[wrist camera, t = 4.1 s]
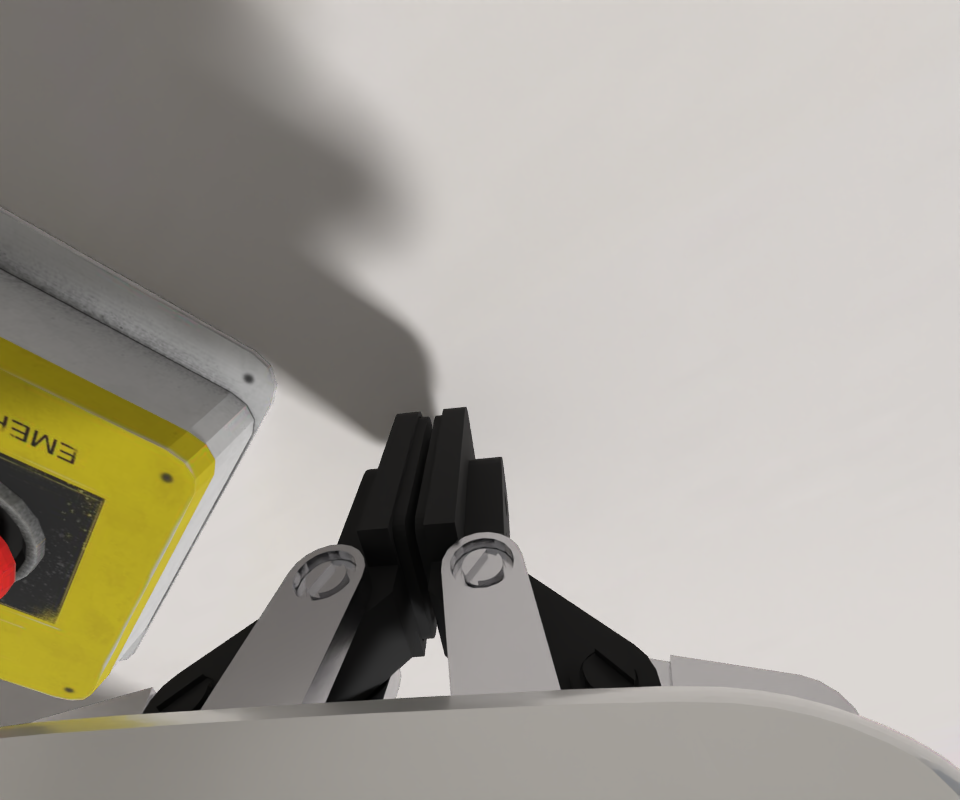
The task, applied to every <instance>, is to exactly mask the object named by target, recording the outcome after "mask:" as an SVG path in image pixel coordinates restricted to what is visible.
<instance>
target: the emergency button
mask: <svg viewBox="0 0 960 800" xmlns="http://www.w3.org/2000/svg"><path fill="white" fill-rule="evenodd" d="M276 388H277V382H276V379H275V376H274V373H273V370H272V367H271V365H270V364H269V363H268V362H267V361H266V360H264V359H263V358H262V357H261V356H260V355H259V354H258V353H257V352H256V351H254V350H253V349H251V348H249V347H247V346H245V345H244V344H242V343H240V342H238V341H237V340H235V339H233V338H231V337H230V336H228V335H226V334H224V333H223V332H221V331H219V330H217V329H215V328H214V327H212V326H210V325H208V324H207V323H205V322H203V321H201V320H200V319H198V318H196V317H194V316H192V315H191V314H189V313H187V312H185V311H184V310H182V309H180V308H178V307H177V306H175V305H173V304H171V303H169V302H168V301H166V300H164V299H162V298H161V297H159V296H157V295H155V294H154V293H152V292H150V291H148V290H147V289H145V288H143V287H141V286H139V285H138V284H136V283H134V282H132V281H131V280H129V279H127V278H125V277H124V276H122V275H120V274H118V273H116V272H115V271H113V270H111V269H109V268H108V267H106V266H104V265H102V264H101V263H99V262H97V261H95V260H93V259H92V258H90V257H88V256H86V255H85V254H83V253H81V252H79V251H78V250H76V249H74V248H72V247H71V246H69V245H67V244H65V243H63V242H62V241H60V240H58V239H56V238H55V237H53V236H51V235H49V234H48V233H46V232H44V231H42V230H40V229H39V228H37V227H35V226H33V225H32V224H30V223H28V222H26V221H25V220H23V219H21V218H19V217H17V216H16V215H14V214H12V213H10V212H9V211H7V210H5V209H3V208H2V207H0V679H1V680H4V681H7V682H10V683H13V684H16V685H19V686H22V687H25V688H28V689H31V690H34V691H37V692H40V693H43V694H46V695H49V696H52V697H56V698H60V699H65V700H70V701H72V700H84V699H86V698H87V697H88V696H90V695H91V694H92V693H93V692H94V691H95V690H96V689H97V688H98V686H99V685H100V684H101V683H102V682H103V681H104V680H105V679H106V677H107V676H108V675H109V674H110V672H111V670H112V668H113V667H114V666H115V665H116V664H117V662H118V661H121V660H127V659H128V658H129V657H130V656H132V655H133V654H134V653H135V652H136V650H137V649H138V647H139V645H140V643H141V642H142V640H143V638H144V636H145V634H146V633H147V631H148V629H149V627H150V625H151V623H152V622H153V620H154V618H155V616H156V614H157V613H158V611H159V609H160V607H161V605H162V603H163V602H164V600H165V598H166V596H167V594H168V593H169V591H170V589H171V587H172V585H173V583H174V582H175V580H176V578H177V576H178V574H179V573H180V571H181V569H182V567H183V565H184V563H185V562H186V560H187V558H188V556H189V554H190V553H191V551H192V549H193V547H194V545H195V543H196V542H197V540H198V538H199V536H200V534H201V533H202V531H203V529H204V527H205V525H206V523H207V522H208V520H209V518H210V516H211V514H212V513H213V511H214V509H215V507H216V505H217V504H218V502H219V500H220V498H221V496H222V494H223V493H224V491H225V489H226V487H227V485H228V484H229V482H230V480H231V478H232V476H233V474H234V473H235V471H236V469H237V467H238V465H239V464H240V462H241V460H242V458H243V456H244V454H245V453H246V451H247V449H248V447H249V445H250V444H251V442H252V440H253V438H254V436H255V434H256V433H257V431H258V429H259V427H260V425H261V424H262V422H263V420H264V418H265V416H266V414H267V413H268V411H269V409H270V407H271V405H272V404H273V401H274V397H275V392H276Z"/></svg>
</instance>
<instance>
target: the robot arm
mask: <svg viewBox="0 0 960 800" xmlns="http://www.w3.org/2000/svg"><path fill="white" fill-rule="evenodd" d="M437 626H438V630H439V634H440V638H441V642H442V646H443V650H444V654H445V656H446V657H447V658H448V665H449V678H450V691H451V696H435V697H416V698H399V699H396V696H397V693H398V690H399V686H400V681H401V671H400V668H401V667H402V666H403V665H404V664H405V663H406V662H407V661H408V660H410V659H411V658H412V657H421V656H425V648H426V640H427V639H429V638H434V637H435V635H436V627H437ZM0 800H960V769H959V768H957V767H956V766H955V765H954V764H952V763H951V762H950V761H949V760H947V759H946V758H944V757H943V756H941V755H940V754H938V753H937V752H935V751H934V750H932V749H930V748H929V747H927V746H925V745H923V744H922V743H920V742H918V741H916V740H915V739H913V738H911V737H909V736H907V735H904V734H902V733H900V732H898V731H896V730H894V729H891V728H889V727H887V726H885V725H882V724H880V723H878V722H875V721H873V720H870V719H868V718H865V717H862V716H860V715H859V714H858V712H857V710H856V709H855V708H854V707H853V706H852V705H851V704H850V703H849V702H848V701H847V700H846V699H845V698H844V697H843V696H842V695H841V694H840V693H839V692H837V691H835V690H834V689H832V688H830V687H829V686H827V685H825V684H824V683H822V682H820V681H818V680H815V679H812V678H808V677H805V676H802V675H797V674H791V673H784V672H778V671H771V670H765V669H758V668H752V667H745V666H739V665H732V664H726V663H719V662H713V661H706V660H700V659H693V658H687V657H680V656H674V655H670V662H668V661H662V660H656V659H649V658H648V656H647V655H646V654H645V653H643V652H642V651H641V650H640V649H639V648H638V647H636V646H635V645H634V644H632V643H631V642H629V641H628V640H626V639H625V638H623V637H622V636H620V635H619V634H617V633H616V632H614V631H613V630H611V629H610V628H608V627H607V626H605V625H604V624H602V623H601V622H599V621H598V620H596V619H595V618H593V617H592V616H590V615H589V614H587V613H586V612H584V611H583V610H581V609H580V608H578V607H577V606H575V605H574V604H572V603H571V602H569V601H568V600H566V599H565V598H563V597H562V596H560V595H559V594H557V593H556V592H554V591H553V590H551V589H550V588H548V587H547V586H545V585H544V584H542V583H541V582H539V581H538V580H536V579H535V578H533V577H532V576H531V575H529V574H528V573H527V569H526V566H525V562H524V558H523V555H522V552H521V551H520V549H519V547H518V545H517V544H516V543H515V542H514V541H513V540H511V539H510V530H509V513H508V501H507V491H506V482H505V475H504V467H503V460H502V457H495V458H484V459H475V454H474V448H473V442H472V435H471V429H470V423H469V417H468V411H467V408H466V407H461V408H451V409H443V413H442V415H440V416H435V419H434V424H433V429H432V424H431V420H430V417H422V414H421V412H412V413H403V414H397V415H396V417H395V420H394V423H393V426H392V429H391V432H390V435H389V438H388V441H387V444H386V447H385V449H384V452H383V455H382V458H381V461H380V464H379V467H378V469H369V470H367V471H366V472H365V474H364V475H363V478H362V481H361V483H360V486H359V489H358V491H357V494H356V497H355V499H354V502H353V504H352V507H351V510H350V512H349V515H348V518H347V520H346V523H345V525H344V528H343V531H342V533H341V536H340V539H339V541H338V544H337V545H329V546H326V547H323V548H320V549H317V550H315V551H313V552H311V553H309V554H308V555H306V556H305V557H303V558H302V559H301V560H300V561H298V562H297V563H296V564H295V565H294V567H293V568H292V569H291V570H290V571H289V573H288V574H287V576H286V577H285V579H284V581H283V582H282V584H281V585H280V587H279V588H278V590H277V591H276V593H275V595H274V596H273V598H272V599H271V601H270V602H269V604H268V605H267V607H266V609H265V610H264V612H263V613H262V615H261V616H260V618H259V619H258V620H256V621H255V622H254V623H252V624H251V625H249V626H248V627H246V628H245V629H243V630H242V631H240V632H239V633H237V634H236V635H234V636H233V637H232V638H230V639H229V640H227V641H226V642H224V643H223V644H221V645H220V646H218V647H217V648H215V649H214V650H212V651H211V652H210V653H208V654H207V655H205V656H204V657H202V658H201V659H199V660H198V661H196V662H195V663H193V664H192V665H190V666H189V667H188V668H186V669H185V670H183V671H182V672H180V673H179V674H177V675H176V676H175V677H174V678H172V679H171V680H170V681H169V682H167V683H166V684H165V685H164V686H163V687H162V688H161V689H160V690H159V691H158V692H157V693H156V692H155V690H154V689H153V688H148V689H144V690H141V691H137V692H134V693H130V694H127V695H123V696H119V697H116V698H112V699H109V700H105V701H102V702H98V703H94V704H91V705H87V706H84V707H80V708H77V709H73V710H70V711H66V712H62V713H59V714H55V715H52V716H48V717H45V718H41V719H38V720H35V721H33V722H31V723H26V724H19V725H11V726H4V727H0Z"/></svg>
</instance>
